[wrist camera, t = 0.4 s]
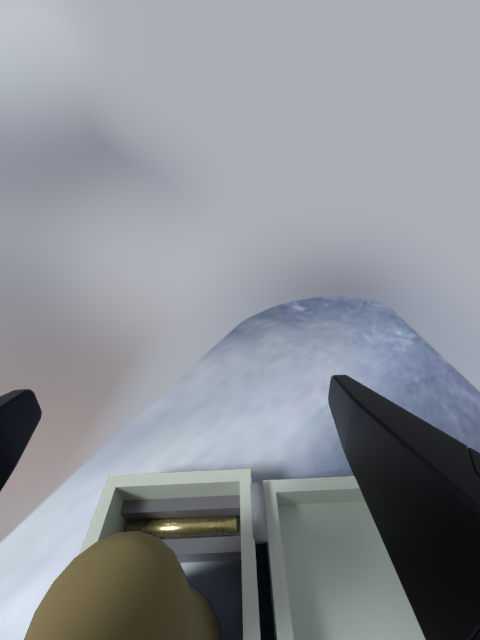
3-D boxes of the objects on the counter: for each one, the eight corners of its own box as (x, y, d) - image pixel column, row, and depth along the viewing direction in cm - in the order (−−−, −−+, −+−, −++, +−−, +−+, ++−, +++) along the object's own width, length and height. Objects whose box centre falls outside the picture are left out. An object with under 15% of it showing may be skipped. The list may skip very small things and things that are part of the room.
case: (294, 870, 10) (303, 909, 8) (5, 884, 10) (-61, 926, 8) (261, 491, 21) (262, 466, 19) (122, 498, 21) (107, 474, 19)
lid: (549, 829, 10) (601, 849, 9) (292, 841, 10) (297, 863, 9) (394, 492, 20) (405, 473, 19) (262, 498, 20) (262, 480, 19)
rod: (236, 537, 18) (235, 520, 19) (125, 542, 18) (125, 525, 19) (236, 528, 19) (236, 513, 20) (131, 533, 19) (131, 517, 20)
